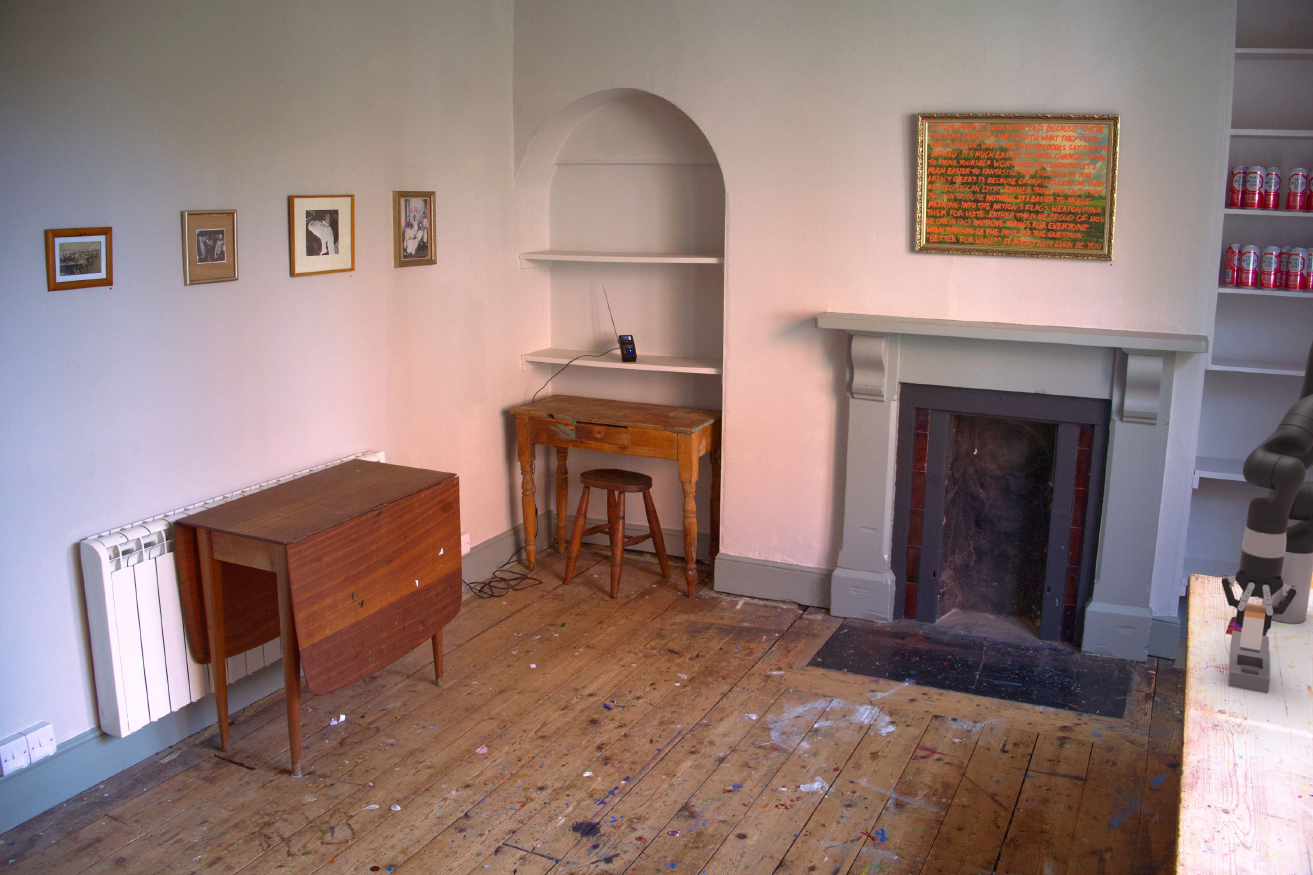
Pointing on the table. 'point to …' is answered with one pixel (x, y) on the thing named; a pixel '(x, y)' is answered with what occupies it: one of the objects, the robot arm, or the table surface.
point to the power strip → (1249, 665)
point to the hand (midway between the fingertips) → (1252, 627)
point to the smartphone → (1237, 627)
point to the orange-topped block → (1252, 626)
